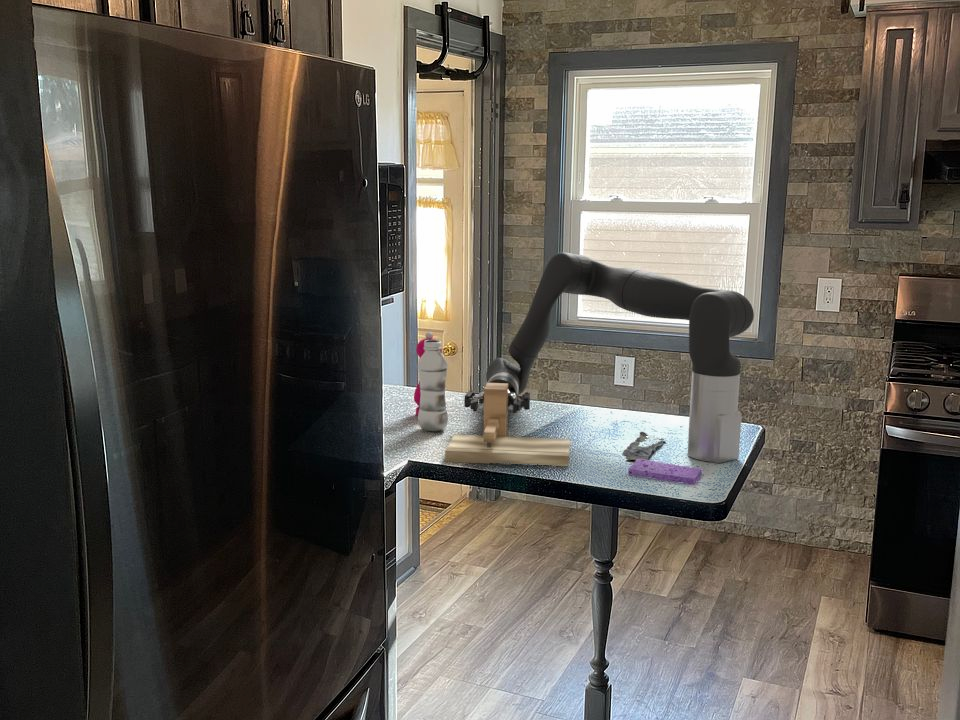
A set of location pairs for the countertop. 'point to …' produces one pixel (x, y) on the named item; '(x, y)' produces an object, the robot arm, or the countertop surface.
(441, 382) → the plastic bottle
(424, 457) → the countertop surface
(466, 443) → the pine board
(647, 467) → the sponges
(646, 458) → the driftwood
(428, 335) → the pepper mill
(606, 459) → the countertop surface
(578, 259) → the robot arm
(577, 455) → the countertop surface
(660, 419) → the countertop surface
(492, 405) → the block
